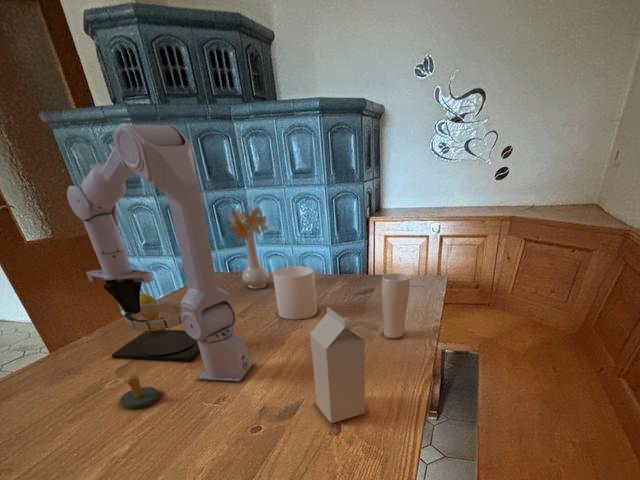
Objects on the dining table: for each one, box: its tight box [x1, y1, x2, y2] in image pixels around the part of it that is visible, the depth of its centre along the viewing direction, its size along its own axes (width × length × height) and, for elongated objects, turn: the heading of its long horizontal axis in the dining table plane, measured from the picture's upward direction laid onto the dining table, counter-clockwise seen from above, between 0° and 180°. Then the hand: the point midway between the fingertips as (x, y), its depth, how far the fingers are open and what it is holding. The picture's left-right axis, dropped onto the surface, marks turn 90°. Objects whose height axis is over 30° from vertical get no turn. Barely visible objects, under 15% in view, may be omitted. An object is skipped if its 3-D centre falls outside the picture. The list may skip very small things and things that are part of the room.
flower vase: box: [226, 204, 270, 290], centre depth 130 cm, size 13×18×25 cm
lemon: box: [140, 292, 160, 320], centre depth 110 cm, size 6×6×8 cm
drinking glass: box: [381, 272, 411, 339], centre depth 98 cm, size 7×7×15 cm
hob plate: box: [111, 329, 201, 363], centre depth 98 cm, size 20×16×1 cm
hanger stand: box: [119, 374, 160, 410], centre depth 76 cm, size 7×7×6 cm
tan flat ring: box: [123, 301, 182, 332], centre depth 91 cm, size 13×13×2 cm
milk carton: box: [309, 306, 366, 424], centre depth 68 cm, size 7×7×19 cm
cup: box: [272, 265, 318, 321], centre depth 113 cm, size 12×12×12 cm
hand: (133, 312), depth 92 cm, fingers closed on tan flat ring, 1 cm apart
